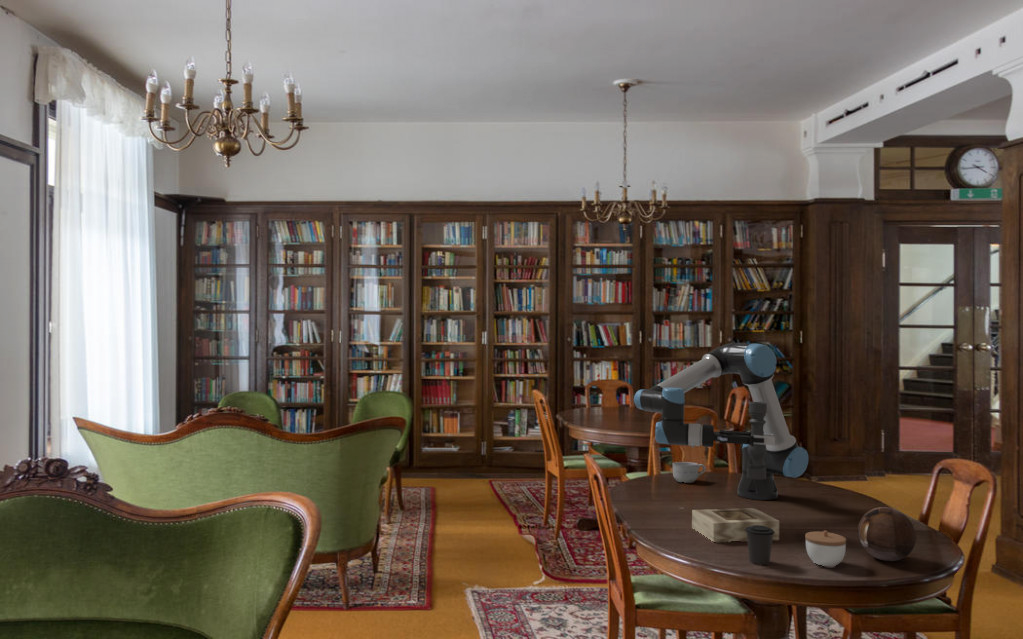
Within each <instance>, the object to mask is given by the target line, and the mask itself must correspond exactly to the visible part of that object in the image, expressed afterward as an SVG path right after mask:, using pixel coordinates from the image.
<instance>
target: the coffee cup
mask: <svg viewBox="0 0 1023 639" xmlns="http://www.w3.org/2000/svg"><path fill="white" fill-rule="evenodd" d="M745 531H746V532H747V540H748V541H747V548H748V550H747V551H748V557H749V559H748V560H749V563H751V562H752V563H751V564H753V563H755V564H754V565H757V564H761V565H760V566H765V565H764V564H768V565H769V564H770V559H771V552H772V545H773V540H772V538H773V534H774V533H775V532H774V530H773V529H771V528H768V527H765V526H760V525H753V526H748V527H746V529H745Z"/></svg>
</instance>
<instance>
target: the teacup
mask: <svg viewBox="0 0 1023 639" xmlns="http://www.w3.org/2000/svg"><path fill="white" fill-rule="evenodd" d="M700 467H702V471H700V472H699V469H700ZM705 472H706V465H704V464H702V463H697V462H691V461H690V462H688V461H678V462H677V461H676V462H672V475H673V478H674V479H675V481H676V482H678V483H682V482H684V484H686V483H687V484H690V483H694V482H695V481H696V480H697V479H699V477H700V476H702V475H703V474H704V473H705Z"/></svg>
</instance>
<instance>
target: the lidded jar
mask: <svg viewBox="0 0 1023 639" xmlns="http://www.w3.org/2000/svg"><path fill="white" fill-rule="evenodd" d="M804 536H805V537H804V538H805V550H806V553H807V555H808V557H809V558H810V560H811V561H812V562H813V564H814V563H816V564H818V565H822V566H836V565H837V566H838V565H839V564H840V563H841V562H842V561H843V559H844V558H845V555H846V548H847V545H846V544H847V538H846V537H844V536H843V535H841V534H838V533H834V532H828V530H823V531H809V532H806V533H805V535H804ZM816 564H815V565H816ZM818 565H817V566H818ZM822 566H821V567H822ZM837 566H836V567H837Z"/></svg>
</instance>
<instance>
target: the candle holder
mask: <svg viewBox="0 0 1023 639" xmlns="http://www.w3.org/2000/svg"><path fill="white" fill-rule="evenodd" d="M748 412H749V415H750V417H751V419H749V423H750V425H751V429H750V431H751V436H764V435H763V434H764V431H763V426H764V424H765V423H766V421H765V420H764V417H765V415H766V413H767V403H764V402H753V401H749V403H748ZM747 450H748V453H749V455H750V458H751V459H750V460H749V461H748V464H749V466H747V478H750V479H758V480H763V479H766V468H765V467H764V466H765V465H766V464H765V462H764V460H763V458H764V457H763V456H764V455H765V454H766V451H767V449H766V445H762V444H754V446H751V445H749V444H748V448H747Z"/></svg>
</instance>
